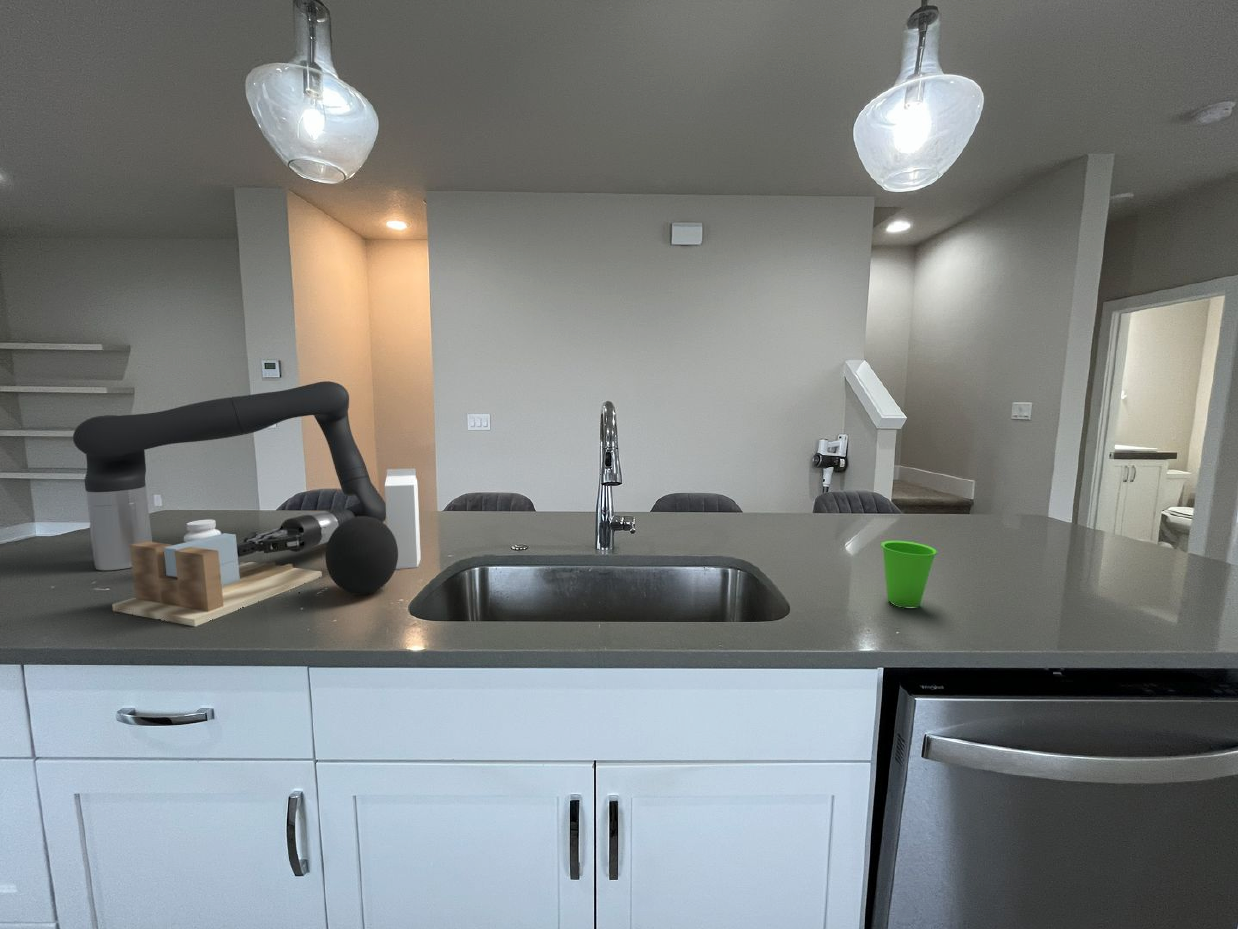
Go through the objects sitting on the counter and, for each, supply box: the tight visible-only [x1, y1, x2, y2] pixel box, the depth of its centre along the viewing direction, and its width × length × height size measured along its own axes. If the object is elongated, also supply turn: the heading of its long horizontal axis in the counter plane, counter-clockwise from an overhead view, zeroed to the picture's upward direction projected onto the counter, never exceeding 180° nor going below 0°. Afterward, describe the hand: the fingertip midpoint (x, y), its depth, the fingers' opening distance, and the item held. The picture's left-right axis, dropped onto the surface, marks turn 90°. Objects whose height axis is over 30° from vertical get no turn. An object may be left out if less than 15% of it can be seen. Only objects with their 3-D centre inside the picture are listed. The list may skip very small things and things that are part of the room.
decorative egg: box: [324, 516, 398, 595], centre depth 93 cm, size 12×12×15 cm
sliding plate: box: [164, 532, 240, 586], centre depth 89 cm, size 3×10×10 cm, turn 164°
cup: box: [880, 540, 938, 608], centre depth 91 cm, size 9×9×11 cm
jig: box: [111, 541, 323, 627], centre depth 93 cm, size 20×24×11 cm
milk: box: [384, 468, 422, 570], centre depth 109 cm, size 6×6×22 cm
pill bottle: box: [183, 519, 222, 543], centre depth 104 cm, size 6×6×11 cm
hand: (231, 552), depth 94 cm, fingers closed
